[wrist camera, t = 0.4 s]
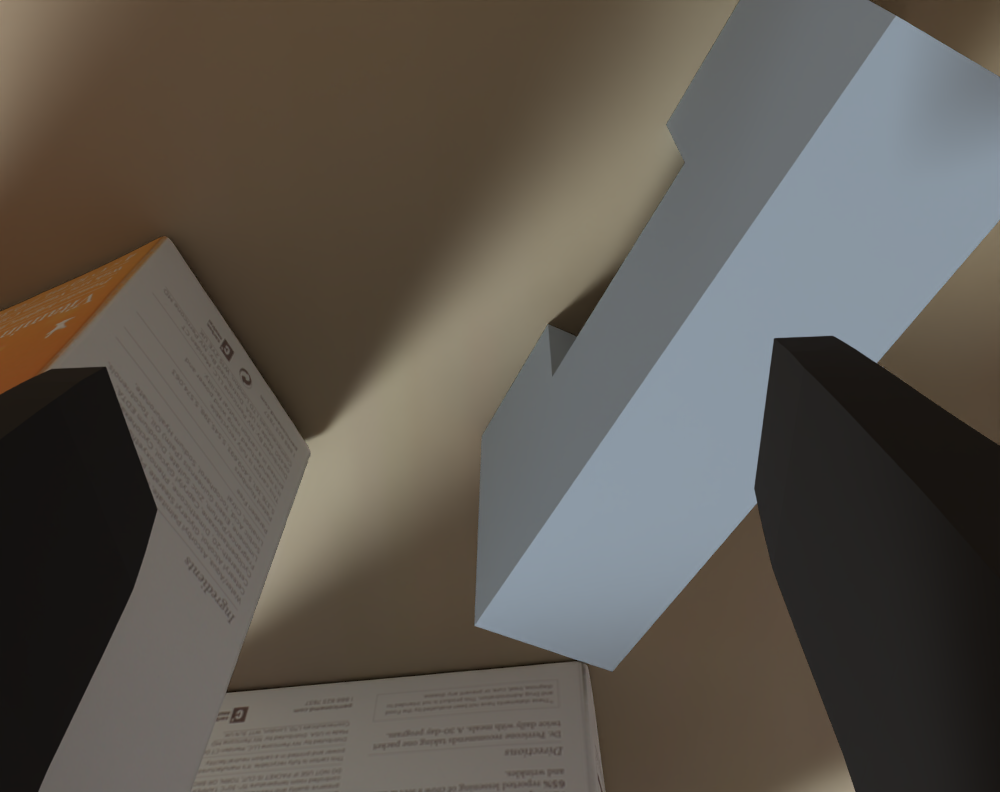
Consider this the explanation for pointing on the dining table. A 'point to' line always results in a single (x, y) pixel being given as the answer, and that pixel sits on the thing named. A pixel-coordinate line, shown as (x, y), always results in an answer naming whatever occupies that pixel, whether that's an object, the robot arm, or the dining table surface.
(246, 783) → the supplement box
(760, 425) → the plain blue-gray board
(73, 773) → the small box
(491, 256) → the dining table surface
